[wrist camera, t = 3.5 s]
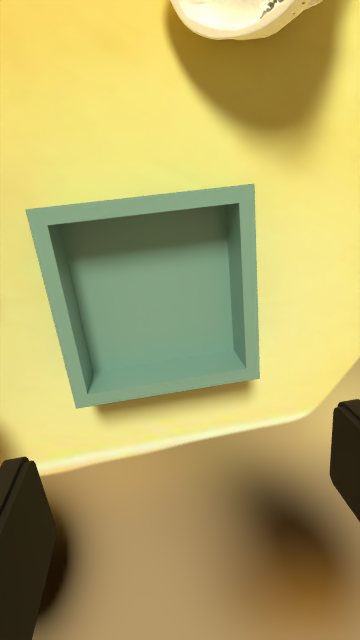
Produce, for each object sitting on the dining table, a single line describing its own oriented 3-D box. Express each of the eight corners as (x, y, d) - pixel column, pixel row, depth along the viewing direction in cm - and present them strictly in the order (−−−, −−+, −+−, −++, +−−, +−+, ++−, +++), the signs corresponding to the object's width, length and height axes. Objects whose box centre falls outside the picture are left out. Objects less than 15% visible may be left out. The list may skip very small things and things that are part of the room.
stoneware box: (44, 208, 28) (25, 209, 23) (235, 186, 29) (254, 183, 24) (84, 379, 33) (76, 408, 29) (242, 354, 35) (259, 378, 30)
